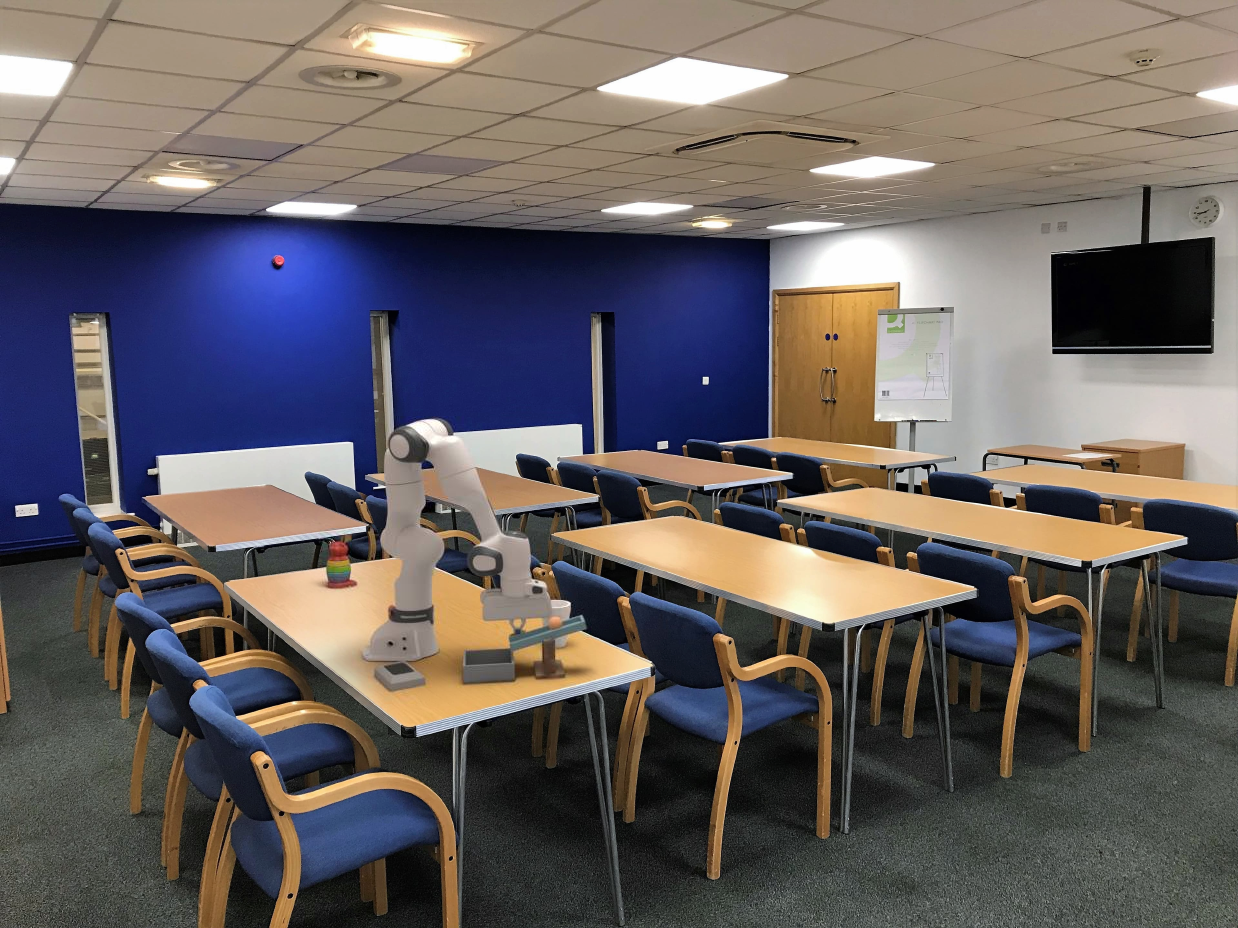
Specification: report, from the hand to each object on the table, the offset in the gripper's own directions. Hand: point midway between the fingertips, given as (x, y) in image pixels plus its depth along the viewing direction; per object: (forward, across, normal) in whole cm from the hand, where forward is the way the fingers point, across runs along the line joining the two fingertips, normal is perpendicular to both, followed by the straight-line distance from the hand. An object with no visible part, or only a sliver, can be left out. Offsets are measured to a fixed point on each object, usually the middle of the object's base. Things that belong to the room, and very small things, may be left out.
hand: (518, 633), depth 269 cm
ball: (-4, +10, -6) cm, 13 cm away
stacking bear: (+10, -66, +107) cm, 127 cm away
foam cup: (+10, +12, +18) cm, 24 cm away
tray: (+9, -9, -6) cm, 14 cm away
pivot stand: (+10, +8, -6) cm, 14 cm away
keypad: (+10, -33, -8) cm, 36 cm away
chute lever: (0, +8, -3) cm, 9 cm away
